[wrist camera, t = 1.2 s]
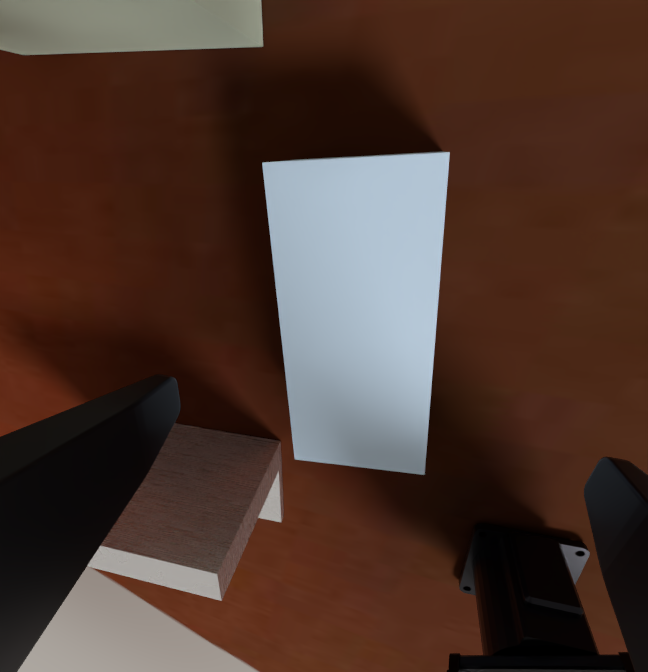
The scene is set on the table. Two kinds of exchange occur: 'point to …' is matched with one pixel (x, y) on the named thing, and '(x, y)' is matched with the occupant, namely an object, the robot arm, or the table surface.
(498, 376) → the table surface
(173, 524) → the l-shaped bookend
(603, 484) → the robot arm
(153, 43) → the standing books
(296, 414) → the light blue rectangular block
